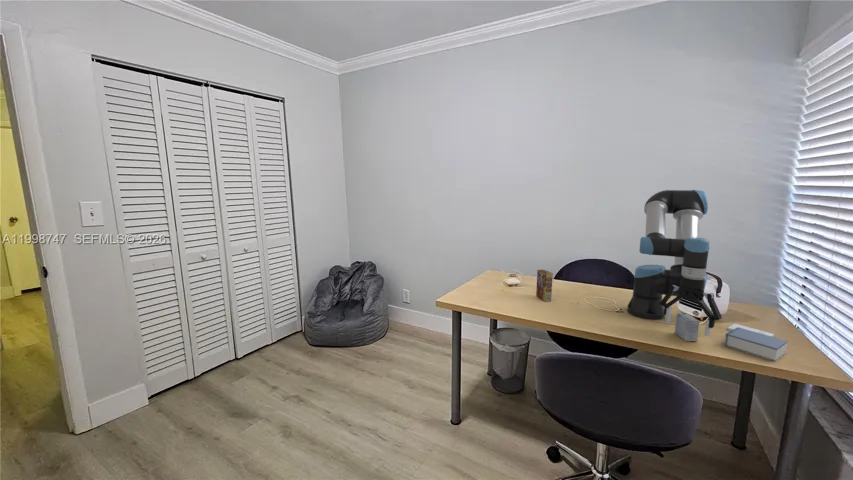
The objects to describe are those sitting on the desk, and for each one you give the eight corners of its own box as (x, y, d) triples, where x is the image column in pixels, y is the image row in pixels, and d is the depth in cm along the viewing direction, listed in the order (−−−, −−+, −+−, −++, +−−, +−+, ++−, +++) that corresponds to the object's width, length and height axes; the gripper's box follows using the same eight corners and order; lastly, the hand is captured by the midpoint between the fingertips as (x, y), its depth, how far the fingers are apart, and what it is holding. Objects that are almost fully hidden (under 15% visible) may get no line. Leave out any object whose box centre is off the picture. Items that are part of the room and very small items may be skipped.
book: (724, 345, 130) (726, 333, 129) (736, 339, 136) (737, 327, 135) (774, 362, 118) (777, 348, 117) (785, 353, 124) (787, 341, 123)
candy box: (551, 301, 181) (553, 273, 178) (544, 301, 180) (545, 273, 177) (542, 295, 189) (544, 269, 187) (535, 296, 188) (536, 269, 186)
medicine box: (697, 342, 133) (700, 321, 132) (684, 341, 134) (687, 320, 132) (686, 333, 141) (688, 313, 139) (674, 332, 141) (676, 313, 140)
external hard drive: (734, 326, 148) (774, 337, 137) (727, 331, 144) (767, 342, 133) (735, 323, 148) (774, 333, 137) (727, 327, 143) (768, 338, 133)
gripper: (653, 271, 142) (648, 320, 145) (729, 286, 121) (721, 343, 124) (662, 269, 146) (657, 316, 149) (737, 283, 124) (730, 338, 128)
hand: (686, 328), depth 136 cm, fingers open, 13 cm apart
